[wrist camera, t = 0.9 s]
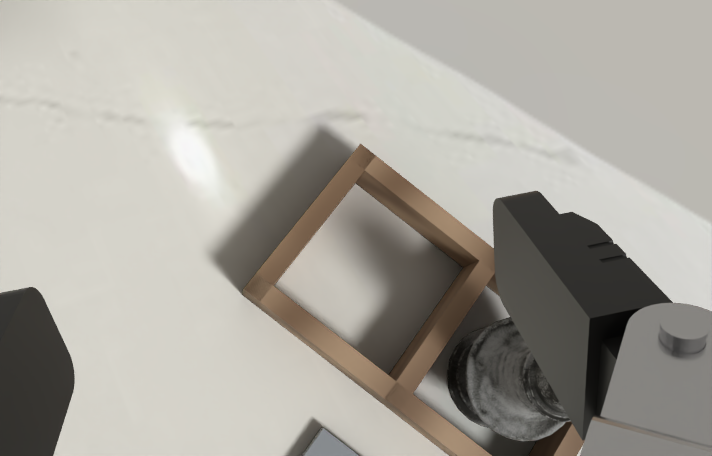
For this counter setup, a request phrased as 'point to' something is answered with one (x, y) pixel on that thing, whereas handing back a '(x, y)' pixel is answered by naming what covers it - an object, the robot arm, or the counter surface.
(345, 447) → the slate tile
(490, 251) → the spice caddy
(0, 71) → the counter surface
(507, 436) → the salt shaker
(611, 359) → the robot arm
